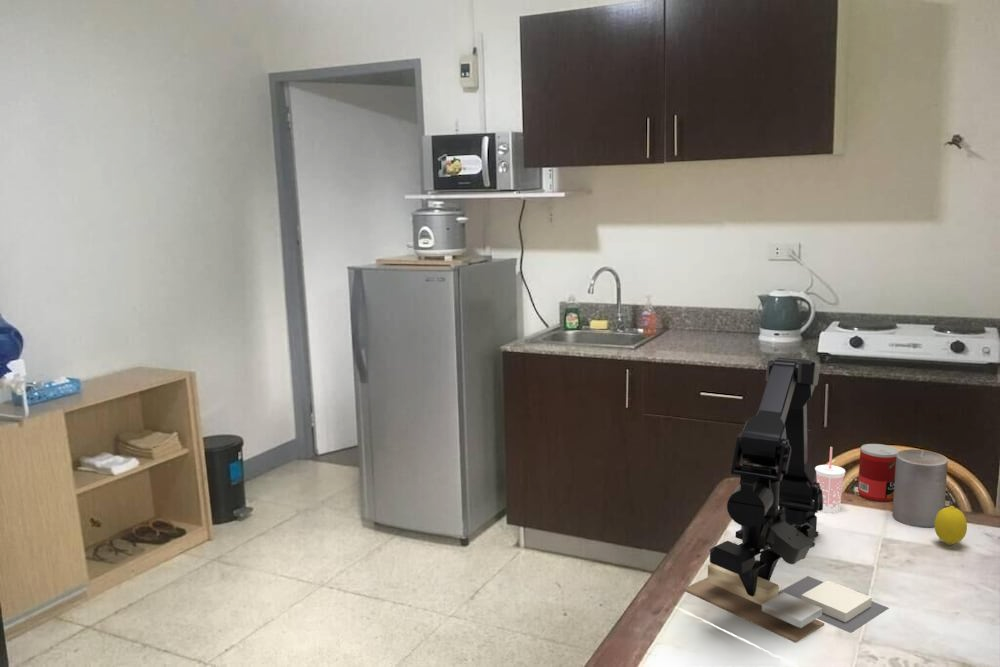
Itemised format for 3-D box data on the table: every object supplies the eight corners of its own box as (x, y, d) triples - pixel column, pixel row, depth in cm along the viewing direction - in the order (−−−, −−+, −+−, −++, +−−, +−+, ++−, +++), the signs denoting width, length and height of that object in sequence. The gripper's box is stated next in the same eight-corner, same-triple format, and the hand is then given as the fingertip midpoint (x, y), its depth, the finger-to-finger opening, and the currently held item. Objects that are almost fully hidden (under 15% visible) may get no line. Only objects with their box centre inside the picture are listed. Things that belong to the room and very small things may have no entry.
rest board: (683, 592, 148) (683, 588, 148) (712, 578, 153) (712, 574, 152) (795, 645, 131) (795, 640, 131) (824, 627, 136) (824, 623, 135)
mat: (768, 599, 145) (768, 597, 145) (807, 578, 152) (807, 575, 152) (850, 635, 133) (851, 632, 133) (889, 610, 140) (889, 607, 140)
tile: (801, 594, 142) (846, 613, 136) (827, 580, 147) (871, 597, 140) (800, 604, 142) (845, 623, 136) (826, 589, 147) (871, 607, 141)
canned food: (893, 504, 185) (897, 456, 183) (854, 498, 189) (857, 451, 187) (898, 493, 191) (901, 446, 189) (860, 487, 195) (863, 441, 193)
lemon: (969, 552, 161) (972, 512, 160) (937, 550, 162) (941, 510, 161) (959, 539, 166) (963, 501, 165) (929, 538, 168) (932, 500, 166)
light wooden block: (702, 584, 146) (702, 567, 145) (723, 573, 149) (724, 557, 149) (800, 628, 131) (801, 610, 130) (821, 615, 135) (822, 597, 134)
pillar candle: (908, 506, 184) (912, 440, 181) (953, 520, 176) (958, 451, 173) (882, 517, 178) (886, 449, 176) (927, 532, 170) (932, 461, 168)
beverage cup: (843, 505, 185) (847, 444, 182) (842, 516, 179) (846, 453, 176) (814, 501, 187) (817, 441, 184) (811, 512, 182) (815, 449, 179)
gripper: (769, 535, 126) (765, 631, 128) (837, 503, 137) (832, 592, 140) (708, 513, 134) (706, 603, 137) (777, 484, 145) (773, 569, 148)
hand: (756, 592), depth 140 cm, fingers closed on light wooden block, 3 cm apart
